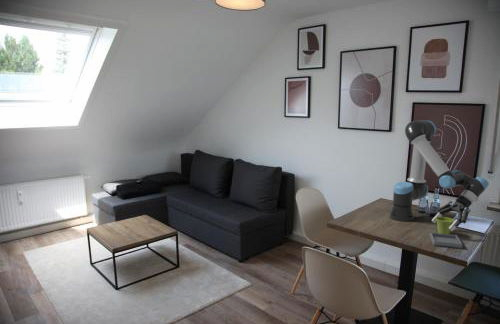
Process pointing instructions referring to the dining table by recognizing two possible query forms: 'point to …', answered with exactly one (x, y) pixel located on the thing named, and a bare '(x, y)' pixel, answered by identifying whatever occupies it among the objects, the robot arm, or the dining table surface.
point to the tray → (445, 240)
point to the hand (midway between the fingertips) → (441, 225)
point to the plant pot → (444, 224)
